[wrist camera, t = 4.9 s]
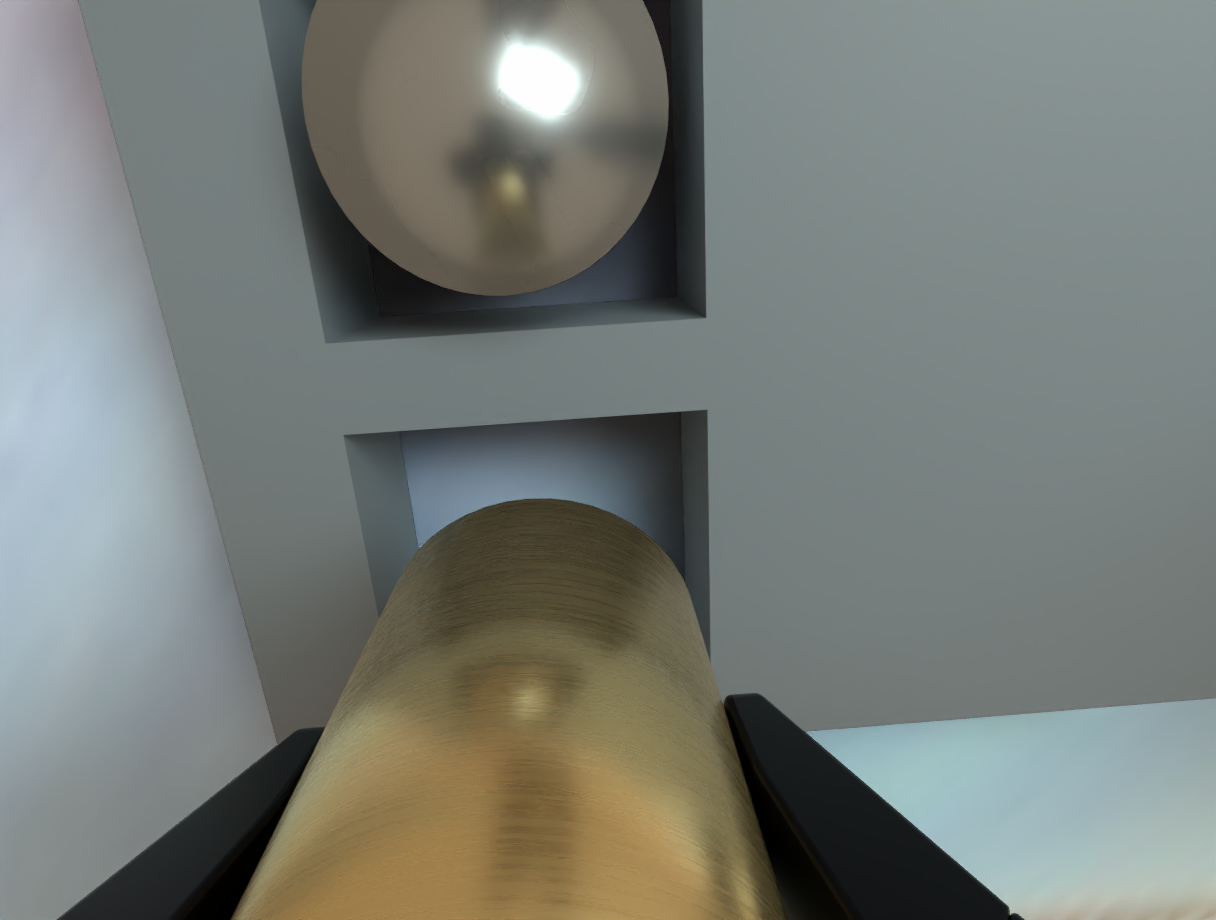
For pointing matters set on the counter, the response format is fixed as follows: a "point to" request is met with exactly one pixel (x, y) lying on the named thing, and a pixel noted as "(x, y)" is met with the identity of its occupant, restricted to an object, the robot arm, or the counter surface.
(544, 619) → the brass cylinder
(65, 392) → the counter surface
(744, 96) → the jig
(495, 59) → the chrome sphere
